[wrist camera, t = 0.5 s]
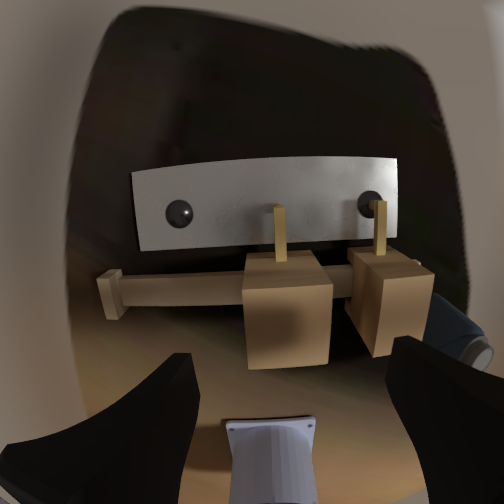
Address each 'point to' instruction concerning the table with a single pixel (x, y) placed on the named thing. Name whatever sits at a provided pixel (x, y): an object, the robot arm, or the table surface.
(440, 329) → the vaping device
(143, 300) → the rail
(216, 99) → the table surface
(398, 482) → the table surface
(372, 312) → the fixed leg
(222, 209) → the bolt plate
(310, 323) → the brown block with peg
